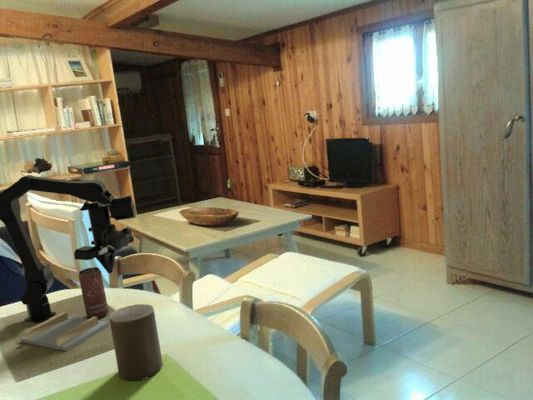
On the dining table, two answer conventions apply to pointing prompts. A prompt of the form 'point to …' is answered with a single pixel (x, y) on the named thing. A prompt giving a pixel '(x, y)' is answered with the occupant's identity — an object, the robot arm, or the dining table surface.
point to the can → (93, 292)
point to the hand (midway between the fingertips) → (110, 272)
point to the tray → (63, 331)
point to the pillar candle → (136, 341)
